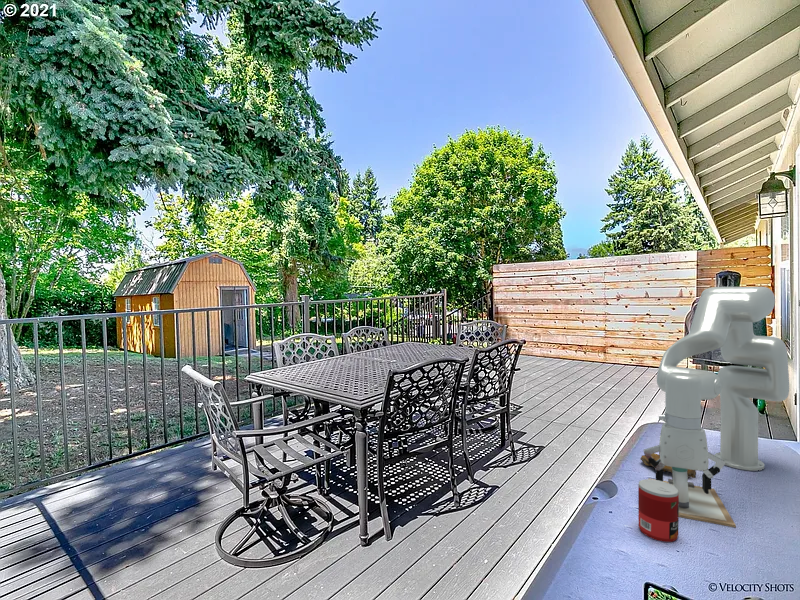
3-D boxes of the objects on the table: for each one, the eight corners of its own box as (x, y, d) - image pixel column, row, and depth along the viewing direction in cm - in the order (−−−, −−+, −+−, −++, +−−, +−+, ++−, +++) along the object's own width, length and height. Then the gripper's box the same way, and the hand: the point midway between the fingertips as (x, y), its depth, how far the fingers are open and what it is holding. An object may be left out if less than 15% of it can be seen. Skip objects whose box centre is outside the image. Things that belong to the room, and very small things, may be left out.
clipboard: (648, 480, 123) (648, 475, 123) (714, 490, 117) (714, 485, 116) (657, 512, 105) (657, 507, 105) (735, 527, 98) (735, 521, 98)
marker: (674, 500, 110) (671, 456, 109) (689, 503, 108) (687, 458, 107) (673, 506, 107) (670, 461, 106) (689, 509, 105) (686, 463, 104)
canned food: (679, 547, 91) (679, 497, 91) (637, 535, 96) (637, 488, 95) (677, 529, 98) (678, 483, 98) (638, 520, 102) (638, 476, 102)
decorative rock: (637, 472, 130) (696, 486, 122) (638, 459, 130) (696, 472, 121) (641, 458, 140) (695, 470, 131) (641, 446, 139) (696, 457, 131)
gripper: (645, 421, 106) (645, 487, 107) (729, 430, 99) (728, 501, 99) (642, 413, 113) (642, 475, 113) (720, 421, 106) (720, 487, 106)
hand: (682, 487), depth 106 cm, fingers open, 9 cm apart
